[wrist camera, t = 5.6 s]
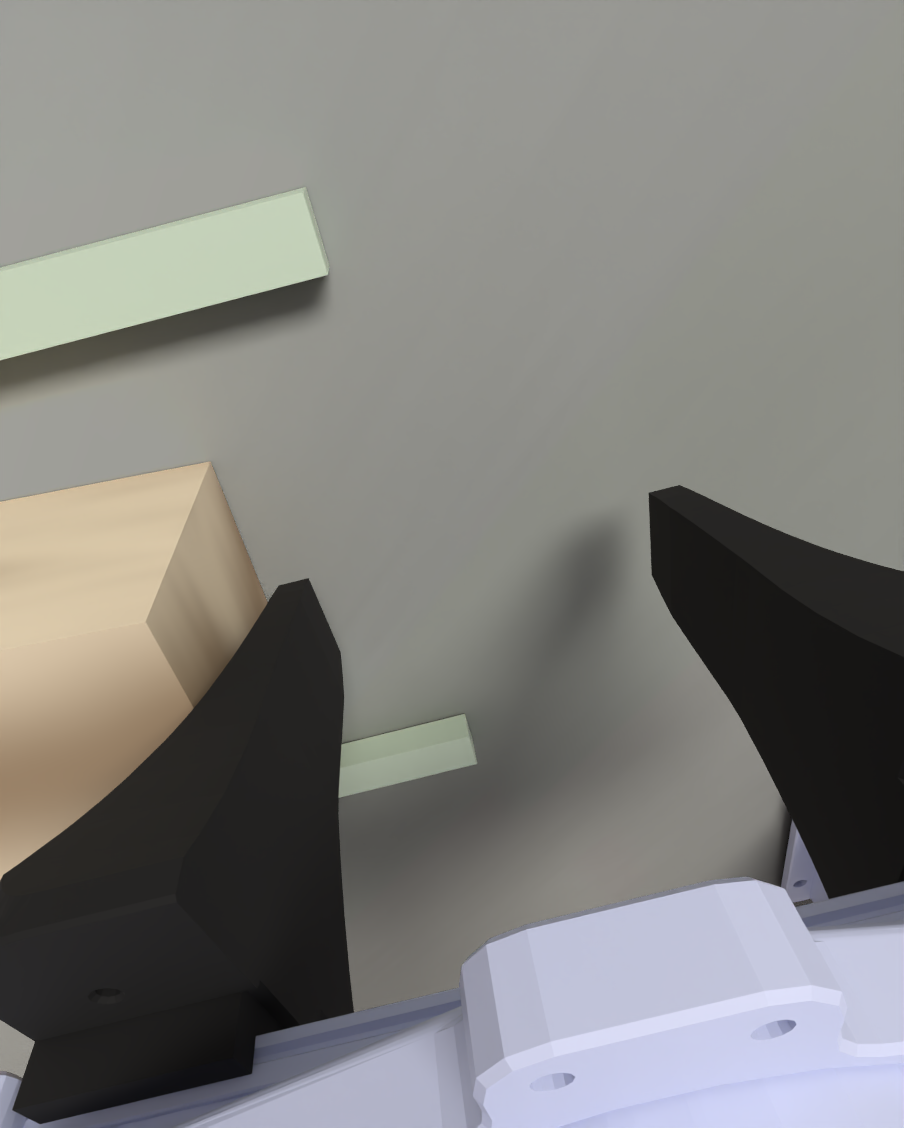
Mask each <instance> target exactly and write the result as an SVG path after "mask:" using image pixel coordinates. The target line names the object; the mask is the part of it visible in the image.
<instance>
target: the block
mask: <svg viewBox="0 0 904 1128" xmlns="http://www.w3.org/2000/svg"><path fill="white" fill-rule="evenodd" d="M267 603H268V602H267V600H266V597H265V595H264V593H263V590H262V588H261V585H260V583H259V580H258V578H257V575H256V573H255V570H254V568H253V565H252V563H251V560H250V558H249V556H248V553H247V551H246V548H245V546H244V543H243V541H242V538H241V536H240V533H239V531H238V528H237V526H236V523H235V521H234V518H233V516H232V514H231V511H230V509H229V506H228V504H227V501H226V499H225V496H224V494H223V491H222V489H221V486H220V484H219V481H218V479H217V477H216V474H215V472H214V469H213V467H212V464H211V462H205V463H200V464H195V465H189V466H184V467H179V468H174V469H169V470H163V471H158V472H153V473H148V474H143V475H137V476H132V477H127V478H122V479H117V480H111V481H106V482H101V483H96V484H90V485H85V486H80V487H75V488H70V489H64V490H59V491H54V492H49V493H44V494H38V495H33V496H28V497H23V498H18V499H12V500H7V501H2V502H0V880H1V878H2V876H3V875H4V874H5V873H6V872H8V871H9V870H11V869H12V868H14V867H15V866H16V865H18V864H19V863H21V862H22V861H23V860H25V859H26V858H27V857H29V856H30V855H31V854H33V853H34V852H36V851H37V850H38V849H40V848H41V847H42V846H44V845H45V844H46V843H48V842H49V841H50V840H52V839H53V838H55V837H56V836H57V835H59V834H60V833H61V832H63V831H64V830H65V829H67V828H68V827H69V826H70V825H72V824H73V823H74V822H75V821H77V820H78V819H79V818H80V817H82V816H83V815H84V814H85V813H86V812H88V811H89V810H90V809H91V808H92V807H94V806H95V805H96V804H97V803H99V802H100V801H101V800H102V799H103V798H104V797H106V796H107V795H108V794H109V793H110V792H111V791H112V790H114V789H115V788H116V787H117V786H118V785H119V784H120V783H122V782H123V781H124V780H125V779H126V778H127V777H128V776H129V775H130V774H131V773H132V772H133V771H134V770H135V769H136V768H137V767H138V766H139V765H140V764H141V763H142V762H143V761H144V760H146V759H147V758H148V757H149V756H150V755H151V754H152V753H153V752H154V751H155V750H156V749H157V748H158V747H159V746H160V745H161V744H162V743H163V742H164V741H165V740H166V739H167V738H168V737H169V736H170V735H171V733H172V732H173V731H174V730H175V729H176V728H177V727H178V726H179V725H180V723H181V722H182V721H183V720H184V719H185V718H186V717H187V716H188V714H189V713H190V712H191V711H192V710H193V709H194V707H195V706H196V705H197V704H198V703H199V701H200V700H201V699H202V698H203V696H204V695H205V694H206V693H207V691H208V690H209V688H210V687H211V686H212V684H213V683H214V682H215V680H216V679H217V678H218V676H219V675H220V674H221V672H222V671H223V669H224V668H225V667H226V665H227V664H228V663H229V661H230V660H231V659H232V657H233V656H234V654H235V653H236V651H237V650H238V648H239V647H240V645H241V644H242V642H243V641H244V639H245V638H246V636H247V635H248V633H249V632H250V630H251V629H252V627H253V625H254V624H255V622H256V621H257V619H258V617H259V616H260V614H261V613H262V611H263V610H264V608H265V606H266V605H267Z"/></svg>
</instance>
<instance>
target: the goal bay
mask: <svg viewBox="0 0 904 1128" xmlns="http://www.w3.org/2000/svg"><path fill="white" fill-rule="evenodd" d="M328 271H329V263H328V259H327V256H326V253H325V249H324V246H323V243H322V239H321V236H320V233H319V229H318V226H317V223H316V220H315V216H314V213H313V210H312V206H311V203H310V200H309V196H308V193H307V190H306V187H304V188H301V189H297V190H293V191H289V192H285V193H282V194H278V195H274V196H270V197H266V198H263V199H259V200H255V201H251V202H247V203H244V204H240V205H236V206H232V207H228V208H225V209H221V210H217V211H213V212H209V213H206V214H202V215H198V216H194V217H190V218H187V219H183V220H179V221H175V222H171V223H168V224H164V225H160V226H156V227H152V228H149V229H145V230H141V231H137V232H133V233H130V234H126V235H122V236H118V237H114V238H111V239H107V240H103V241H99V242H95V243H92V244H88V245H84V246H80V247H77V248H73V249H69V250H65V251H61V252H58V253H54V254H50V255H46V256H42V257H39V258H35V259H31V260H27V261H23V262H20V263H16V264H12V265H8V266H4V267H1V268H0V360H3V359H7V358H11V357H15V356H19V355H23V354H26V353H30V352H34V351H38V350H42V349H46V348H49V347H53V346H57V345H61V344H65V343H69V342H72V341H76V340H80V339H84V338H88V337H92V336H95V335H99V334H103V333H107V332H111V331H115V330H118V329H122V328H126V327H130V326H134V325H138V324H141V323H145V322H149V321H153V320H157V319H161V318H164V317H168V316H172V315H176V314H180V313H184V312H187V311H191V310H195V309H199V308H203V307H207V306H210V305H214V304H218V303H222V302H226V301H230V300H233V299H237V298H241V297H245V296H249V295H253V294H256V293H260V292H264V291H268V290H272V289H276V288H280V287H283V286H287V285H291V284H295V283H299V282H303V281H306V280H310V279H314V278H318V277H322V276H326V275H328ZM475 764H477V759H476V754H475V749H474V744H473V740H472V736H471V733H470V730H469V726H468V723H467V720H466V716H465V714H462V715H458V716H454V717H450V718H446V719H442V720H438V721H434V722H430V723H426V724H422V725H418V726H414V727H410V728H406V729H402V730H398V731H393V732H389V733H385V734H381V735H377V736H373V737H369V738H365V739H361V740H357V741H353V742H349V743H345V744H342V745H341V761H340V778H339V798H340V797H344V796H348V795H353V794H357V793H361V792H365V791H369V790H373V789H377V788H381V787H385V786H389V785H393V784H397V783H401V782H405V781H410V780H414V779H418V778H422V777H426V776H430V775H434V774H438V773H442V772H446V771H450V770H454V769H458V768H462V767H467V766H471V765H475Z"/></svg>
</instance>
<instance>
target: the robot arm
mask: <svg viewBox="0 0 904 1128" xmlns="http://www.w3.org/2000/svg"><path fill="white" fill-rule="evenodd" d="M649 513H650V539H651V566H652V576H653V578H654V580H655V582H656V585H657V587H658V589H659V591H660V593H661V595H662V597H663V599H664V601H665V603H666V605H667V607H668V609H669V611H670V613H671V615H672V616H673V618H674V620H675V621H676V623H677V624H678V626H679V627H680V629H681V630H682V632H683V633H684V634H685V636H686V637H687V639H688V640H689V642H690V643H691V645H692V646H693V648H694V649H695V651H696V652H697V654H698V655H699V657H700V658H701V659H702V661H703V662H704V664H705V665H706V667H707V668H708V670H709V671H710V673H711V674H712V675H713V677H714V678H715V680H716V681H717V683H718V684H719V686H720V687H721V689H722V690H723V691H724V693H725V694H726V696H727V697H728V699H729V700H730V702H731V704H732V705H733V707H734V708H735V710H736V712H737V713H738V715H739V717H740V718H741V720H742V722H743V724H744V726H745V728H746V729H747V731H748V733H749V735H750V737H751V739H752V741H753V743H754V744H755V746H756V748H757V750H758V752H759V754H760V756H761V758H762V759H763V761H764V763H765V765H766V767H767V769H768V771H769V773H770V775H771V777H772V779H773V781H774V783H775V785H776V787H777V789H778V791H779V793H780V795H781V797H782V799H783V801H784V803H785V805H786V807H787V809H788V811H789V813H790V815H791V818H792V824H791V830H790V836H789V842H788V847H787V853H786V859H785V865H784V871H783V877H782V883H781V887H779V886H776V885H773V884H770V883H767V882H763V881H760V880H757V879H753V878H750V877H738V878H728V879H719V880H709V881H705V882H701V883H697V884H693V885H688V886H684V887H680V888H676V889H672V890H668V891H663V892H659V893H655V894H651V895H647V896H643V897H638V898H634V899H630V900H626V901H622V902H618V903H613V904H609V905H605V906H601V907H597V908H593V909H588V910H584V911H580V912H576V913H572V914H568V915H563V916H559V917H555V918H551V919H547V920H543V921H538V922H534V923H530V924H526V925H523V926H521V927H518V928H515V929H513V930H510V931H508V932H505V933H502V934H500V935H497V936H495V937H492V938H490V939H489V940H487V941H486V942H485V943H484V944H483V945H482V946H480V947H479V948H478V949H477V950H476V951H475V952H473V953H472V954H471V955H470V956H469V957H468V958H467V959H466V961H465V962H464V963H463V965H462V966H461V974H460V982H459V988H455V989H451V990H446V991H442V992H438V993H434V994H430V995H426V996H421V997H417V998H413V999H409V1000H405V1001H400V1002H396V1003H392V1004H388V1005H384V1006H379V1007H375V1008H371V1009H367V1010H363V1011H359V1012H354V1010H353V1001H352V992H351V983H350V973H349V963H348V951H347V940H346V929H345V917H344V904H343V890H342V875H341V860H340V840H339V820H338V801H339V778H340V761H341V745H342V727H343V708H344V688H343V674H342V663H341V653H340V650H339V648H338V645H337V643H336V641H335V638H334V636H333V634H332V631H331V629H330V627H329V624H328V622H327V620H326V618H325V615H324V613H323V611H322V608H321V606H320V604H319V601H318V599H317V597H316V594H315V592H314V590H313V587H312V585H311V583H310V581H309V578H308V579H304V580H300V581H296V582H292V583H288V584H284V585H280V586H278V588H277V589H276V591H275V592H274V594H273V595H272V597H271V598H270V600H269V602H268V603H267V605H266V606H265V608H264V610H263V611H262V613H261V614H260V616H259V617H258V619H257V621H256V622H255V624H254V625H253V627H252V629H251V630H250V632H249V633H248V635H247V636H246V638H245V639H244V641H243V642H242V644H241V645H240V647H239V648H238V650H237V651H236V653H235V654H234V656H233V657H232V659H231V660H230V661H229V663H228V664H227V665H226V667H225V668H224V669H223V671H222V672H221V674H220V675H219V676H218V678H217V679H216V680H215V682H214V683H213V684H212V686H211V687H210V688H209V690H208V691H207V693H206V694H205V695H204V696H203V698H202V699H201V700H200V701H199V703H198V704H197V705H196V706H195V707H194V709H193V710H192V711H191V712H190V713H189V714H188V716H187V717H186V718H185V719H184V720H183V721H182V722H181V723H180V725H179V726H178V727H177V728H176V729H175V730H174V731H173V732H172V733H171V735H170V736H169V737H168V738H167V739H166V740H165V741H164V742H163V743H162V744H161V745H160V746H159V747H158V748H157V749H156V750H155V751H154V752H153V753H152V754H151V755H150V756H149V757H148V758H147V759H146V760H144V761H143V762H142V763H141V764H140V765H139V766H138V767H137V768H136V769H135V770H134V771H133V772H132V773H131V774H130V775H129V776H128V777H127V778H126V779H125V780H124V781H123V782H122V783H120V784H119V785H118V786H117V787H116V788H115V789H114V790H112V791H111V792H110V793H109V794H108V795H107V796H106V797H104V798H103V799H102V800H101V801H100V802H99V803H97V804H96V805H95V806H94V807H92V808H91V809H90V810H89V811H88V812H86V813H85V814H84V815H83V816H82V817H80V818H79V819H78V820H77V821H75V822H74V823H73V824H72V825H70V826H69V827H68V828H67V829H65V830H64V831H63V832H61V833H60V834H59V835H57V836H56V837H55V838H53V839H52V840H50V841H49V842H48V843H46V844H45V845H44V846H42V847H41V848H40V849H38V850H37V851H36V852H34V853H33V854H31V855H30V856H29V857H27V858H26V859H25V860H23V861H22V862H21V863H19V864H18V865H16V866H15V867H14V868H12V869H11V870H9V871H8V872H6V873H5V874H4V875H3V876H2V878H1V880H0V1020H2V1021H3V1022H5V1023H6V1024H8V1025H10V1026H11V1027H13V1028H14V1029H16V1030H18V1031H19V1032H21V1033H22V1034H24V1035H26V1036H27V1037H29V1038H30V1039H32V1040H34V1041H35V1044H34V1047H33V1050H32V1053H31V1056H30V1058H29V1061H28V1064H27V1067H26V1070H25V1073H24V1076H23V1078H21V1077H19V1076H17V1075H15V1074H12V1073H9V1072H6V1071H0V1128H904V571H900V570H895V569H892V568H888V567H884V566H880V565H876V564H873V563H870V562H866V561H863V560H860V559H856V558H853V557H850V556H847V555H843V554H840V553H837V552H834V551H831V550H828V549H825V548H822V547H819V546H817V545H814V544H811V543H809V542H806V541H804V540H801V539H799V538H796V537H793V536H791V535H788V534H786V533H783V532H781V531H779V530H776V529H774V528H771V527H769V526H767V525H765V524H762V523H760V522H758V521H756V520H753V519H751V518H749V517H747V516H745V515H742V514H740V513H738V512H736V511H734V510H732V509H730V508H728V507H726V506H723V505H721V504H719V503H717V502H715V501H713V500H711V499H709V498H707V497H705V496H703V495H700V494H698V493H696V492H694V491H692V490H690V489H687V488H685V487H682V486H680V485H678V486H674V487H670V488H666V489H662V490H658V491H654V492H650V493H649ZM807 899H811V900H812V901H813V903H811V904H806V905H802V906H798V907H795V906H794V905H793V902H799V901H803V900H807Z"/></svg>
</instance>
